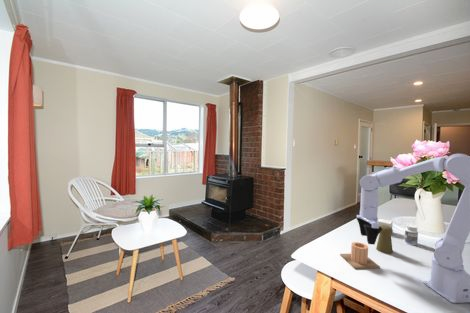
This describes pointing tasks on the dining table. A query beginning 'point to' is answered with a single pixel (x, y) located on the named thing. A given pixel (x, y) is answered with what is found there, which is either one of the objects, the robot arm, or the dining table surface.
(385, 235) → the olive flared column
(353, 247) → the wooden slatted pot
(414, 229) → the pill bottle
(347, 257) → the plate
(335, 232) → the dining table surface
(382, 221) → the white beige cube
